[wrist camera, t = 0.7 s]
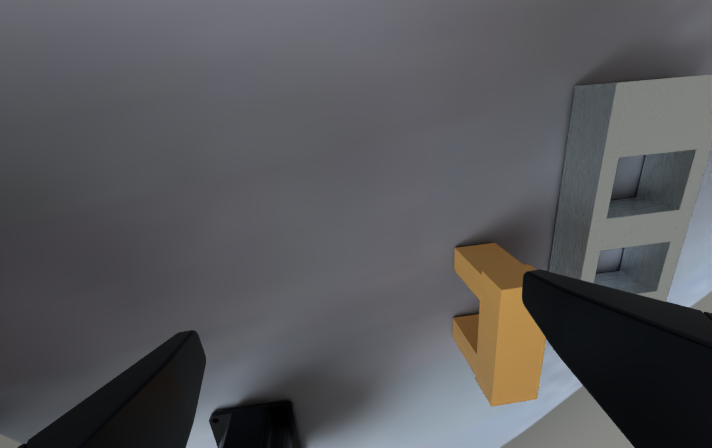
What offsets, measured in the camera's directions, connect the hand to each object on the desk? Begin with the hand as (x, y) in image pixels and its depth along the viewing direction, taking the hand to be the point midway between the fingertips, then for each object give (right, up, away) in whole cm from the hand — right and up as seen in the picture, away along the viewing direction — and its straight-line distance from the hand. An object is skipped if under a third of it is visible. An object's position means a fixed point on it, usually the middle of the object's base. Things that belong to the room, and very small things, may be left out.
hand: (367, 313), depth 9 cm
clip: (+9, -3, +16) cm, 18 cm away
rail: (+18, +3, +15) cm, 23 cm away
